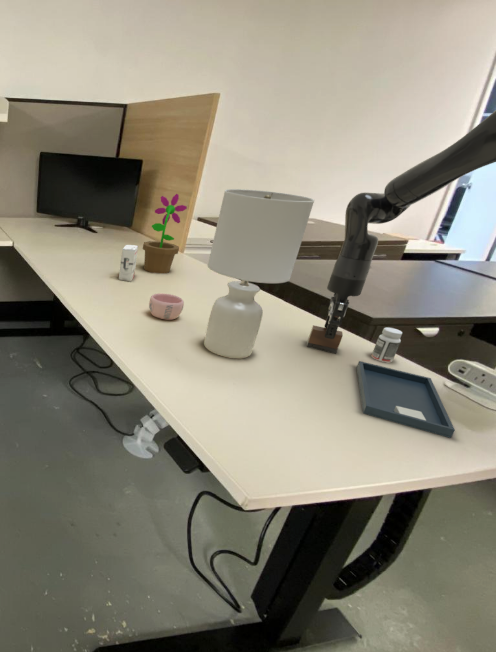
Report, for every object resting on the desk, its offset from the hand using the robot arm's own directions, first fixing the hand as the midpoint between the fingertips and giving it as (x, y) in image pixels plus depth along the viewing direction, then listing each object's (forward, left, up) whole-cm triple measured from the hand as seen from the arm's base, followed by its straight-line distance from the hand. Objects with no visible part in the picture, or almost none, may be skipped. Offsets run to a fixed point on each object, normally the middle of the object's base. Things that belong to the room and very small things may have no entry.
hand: (328, 333), depth 125 cm
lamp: (+22, +18, -5) cm, 29 cm away
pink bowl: (+43, +4, -5) cm, 44 cm away
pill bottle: (-14, -3, -5) cm, 15 cm away
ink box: (+66, -27, -5) cm, 72 cm away
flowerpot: (+60, -47, -5) cm, 77 cm away
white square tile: (-15, +31, -4) cm, 35 cm away
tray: (-15, +21, -5) cm, 26 cm away
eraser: (+1, 0, -5) cm, 5 cm away
